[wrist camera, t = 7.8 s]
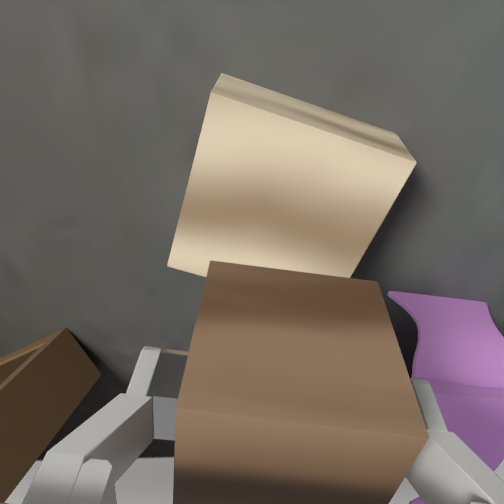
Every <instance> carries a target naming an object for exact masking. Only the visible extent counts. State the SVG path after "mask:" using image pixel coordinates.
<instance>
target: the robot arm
mask: <svg viewBox="0 0 504 504" xmlns="http://www.w3.org/2000/svg"><path fill="white" fill-rule="evenodd" d="M188 353H189V352H185V351H178V350H171V349H164V348H156V347H148V346H144V348H143V349H142V350H141V353H140V356H139V359H138V361H137V364H136V367H135V370H134V372H133V375H132V378H131V381H130V383H129V386H128V389H127V392H126V394H124V393H120V394H119V395H118V396H116V397H115V398H114V399H113V400H111V401H110V402H109V403H108V404H106V405H105V406H104V407H103V408H101V409H100V410H99V411H98V412H96V413H95V414H94V415H93V416H91V417H90V418H89V419H88V420H86V421H85V422H84V423H83V424H81V425H80V426H79V427H78V428H76V429H75V430H74V431H72V432H71V433H70V434H69V435H67V436H66V437H65V438H64V439H62V440H61V441H60V442H59V443H57V444H56V445H55V446H54V447H52V448H51V449H50V450H49V451H47V453H46V455H45V457H44V459H43V461H42V463H41V466H40V468H39V470H38V472H37V474H36V476H35V478H34V480H33V482H32V484H31V486H30V488H29V490H28V492H27V494H26V496H25V498H24V500H23V502H22V504H117V503H116V494H115V486H114V483H115V482H116V481H117V480H118V479H119V478H120V477H121V476H122V474H123V473H124V472H125V471H126V470H127V469H128V468H129V467H130V466H131V464H132V463H133V462H134V461H135V460H136V459H137V458H138V457H139V456H140V455H141V453H142V452H143V451H144V450H145V449H146V448H147V447H148V446H149V445H150V443H151V442H152V441H153V439H164V440H175V418H176V405H177V401H178V396H179V392H180V388H181V383H182V379H183V375H184V371H185V366H186V362H187V358H188ZM410 381H411V384H412V387H413V390H414V393H415V396H416V399H417V402H418V405H419V408H420V411H421V414H422V417H423V420H424V423H425V426H426V429H427V432H428V435H429V439H428V441H427V442H426V444H425V445H424V447H423V449H422V450H421V452H420V453H419V455H418V457H417V458H416V460H415V461H414V463H413V465H412V466H411V468H410V470H409V471H408V473H407V474H406V478H407V479H408V480H409V482H410V483H411V485H412V486H413V488H414V489H415V490H416V492H417V493H418V494H419V496H420V497H421V499H422V500H423V502H424V503H425V504H504V482H503V480H502V479H501V478H500V477H498V476H497V474H495V473H494V472H493V471H492V470H491V469H490V468H489V467H488V466H487V465H486V464H485V463H484V462H483V461H482V460H481V459H480V458H479V457H478V456H477V455H476V454H475V453H474V452H473V451H472V450H471V449H470V448H469V447H468V446H467V445H466V444H465V443H464V442H463V441H462V440H461V439H460V438H459V437H458V436H457V435H456V434H455V433H454V432H448V430H447V427H446V424H445V422H444V419H443V417H442V414H441V411H440V409H439V406H438V404H437V401H436V398H435V396H434V393H433V391H432V388H431V385H430V383H429V382H428V381H427V380H420V379H412V378H410ZM0 504H7V503H0Z"/></svg>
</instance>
